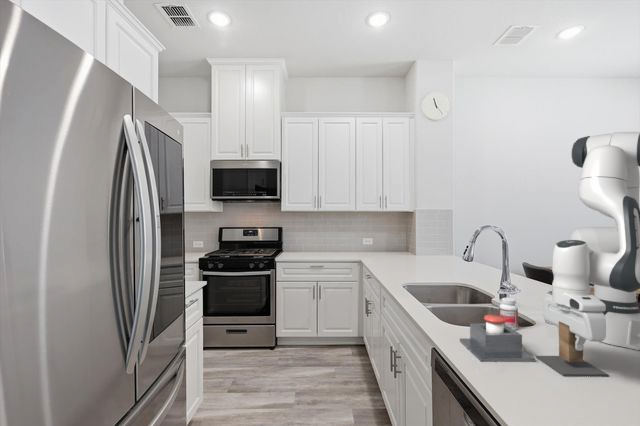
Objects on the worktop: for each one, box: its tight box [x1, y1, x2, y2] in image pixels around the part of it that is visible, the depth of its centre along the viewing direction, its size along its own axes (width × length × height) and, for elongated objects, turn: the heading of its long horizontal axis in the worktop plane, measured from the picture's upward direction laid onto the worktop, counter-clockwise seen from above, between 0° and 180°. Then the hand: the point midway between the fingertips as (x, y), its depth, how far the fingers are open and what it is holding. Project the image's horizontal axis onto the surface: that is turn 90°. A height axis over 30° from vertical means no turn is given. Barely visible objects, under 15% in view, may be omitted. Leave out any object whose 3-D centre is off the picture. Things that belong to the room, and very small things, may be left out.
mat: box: [535, 355, 610, 378], centre depth 99 cm, size 12×12×1 cm
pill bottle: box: [498, 297, 519, 331], centre depth 132 cm, size 6×6×11 cm
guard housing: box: [459, 322, 536, 363], centre depth 110 cm, size 16×16×7 cm
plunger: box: [483, 314, 505, 333], centre depth 110 cm, size 6×6×9 cm
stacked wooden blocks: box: [558, 321, 584, 362], centre depth 98 cm, size 4×4×10 cm
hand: (570, 345), depth 98 cm, fingers closed on stacked wooden blocks, 4 cm apart
